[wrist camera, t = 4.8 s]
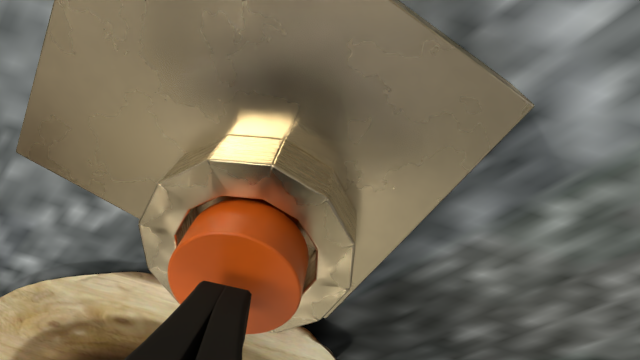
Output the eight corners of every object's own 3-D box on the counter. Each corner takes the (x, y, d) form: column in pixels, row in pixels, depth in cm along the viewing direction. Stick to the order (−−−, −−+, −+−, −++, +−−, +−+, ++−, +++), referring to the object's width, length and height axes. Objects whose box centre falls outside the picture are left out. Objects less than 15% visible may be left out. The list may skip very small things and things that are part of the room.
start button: (332, 240, 13) (327, 279, 11) (271, 311, 15) (260, 353, 13) (220, 175, 12) (199, 207, 11) (171, 258, 14) (147, 296, 12)
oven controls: (512, 84, 13) (562, 130, 10) (319, 294, 19) (307, 370, 15) (152, -183, 11) (52, -245, 8) (51, 146, 16) (-34, 198, 13)
